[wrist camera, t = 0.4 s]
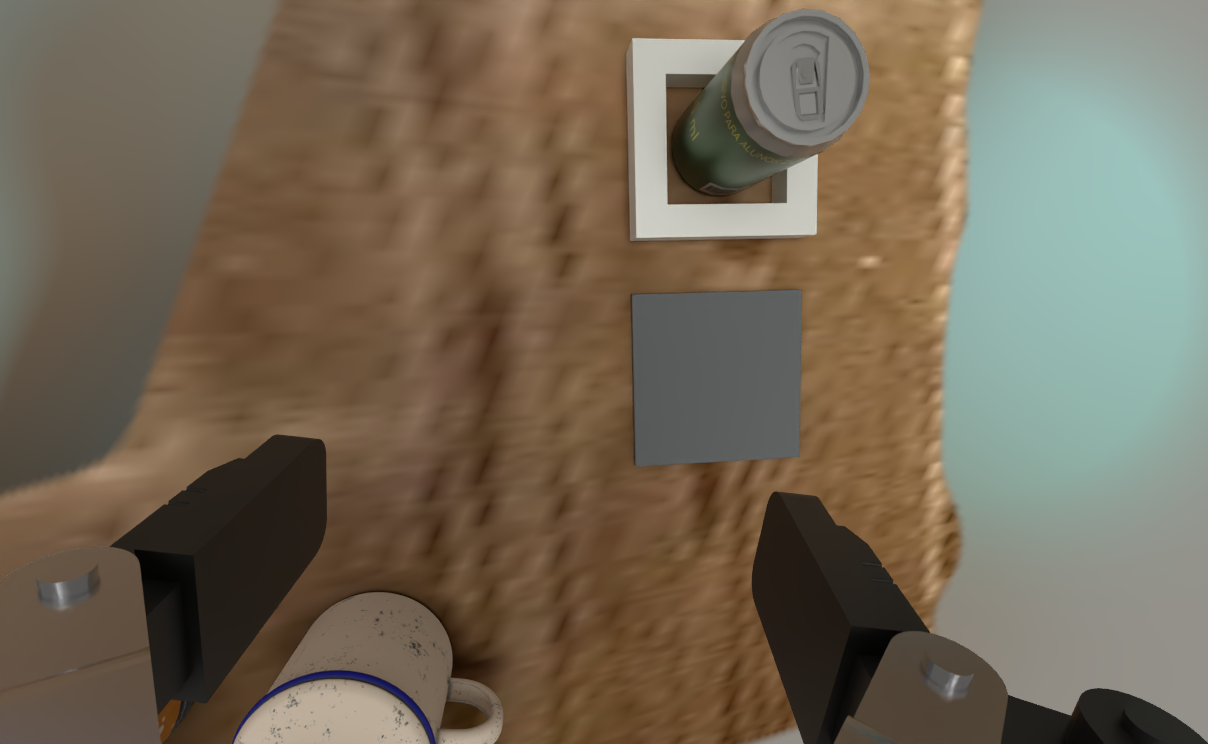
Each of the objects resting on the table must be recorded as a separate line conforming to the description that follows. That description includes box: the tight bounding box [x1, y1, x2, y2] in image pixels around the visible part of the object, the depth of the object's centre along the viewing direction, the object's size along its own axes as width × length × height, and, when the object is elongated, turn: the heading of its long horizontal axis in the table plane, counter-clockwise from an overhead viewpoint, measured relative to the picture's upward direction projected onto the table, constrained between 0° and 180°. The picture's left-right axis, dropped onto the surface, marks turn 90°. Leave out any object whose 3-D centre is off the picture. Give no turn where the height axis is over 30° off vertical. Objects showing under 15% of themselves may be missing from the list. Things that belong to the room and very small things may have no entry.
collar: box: [626, 38, 818, 241], centre depth 34 cm, size 10×10×2 cm
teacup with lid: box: [232, 592, 503, 744], centre depth 31 cm, size 12×9×12 cm
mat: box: [631, 290, 802, 467], centre depth 37 cm, size 10×10×1 cm
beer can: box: [672, 9, 870, 196], centre depth 30 cm, size 5×5×12 cm
